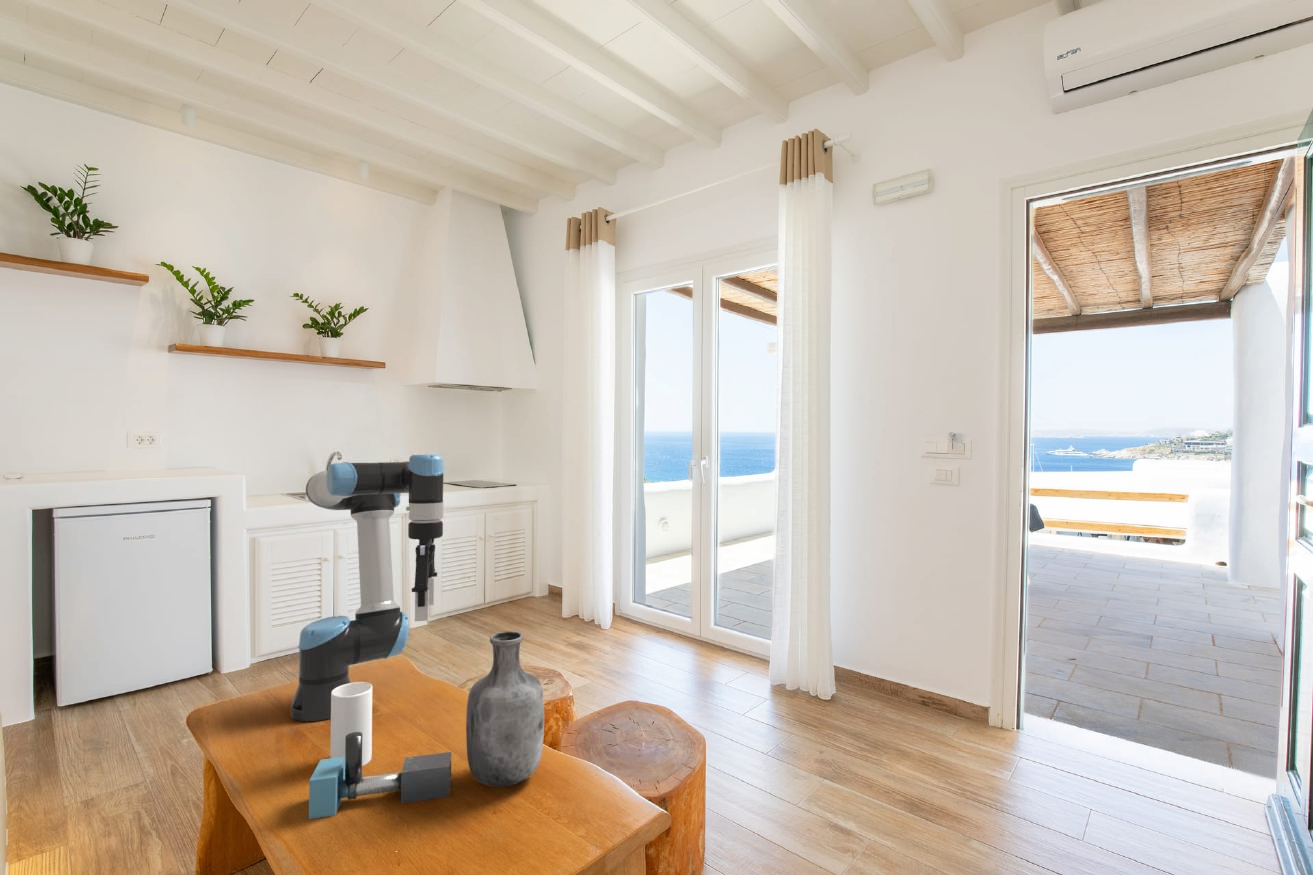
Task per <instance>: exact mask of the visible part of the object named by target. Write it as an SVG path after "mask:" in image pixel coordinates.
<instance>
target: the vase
mask: <svg viewBox="0 0 1313 875" xmlns="http://www.w3.org/2000/svg"><path fill="white" fill-rule="evenodd" d="M523 638H524V636H523V634H522V632H519V631H501V632H497V633H494V634H492V635H490V637H489V643H490V644H491V645H492V654H493V655H492V657H493V658H492V666H491V670H490V671H489V673H487V675H485V676H483V677H481V678H480V679H478V680H477V681H476V682H475V683H474V684H473V685H472V687H471V688H470V690H469V692H468V695H467V696H468V697H467V703H466V718H465V719H466V721H465V726H466V727H465V730H466V731H465V734H466V736H465V737H466V756H467V761H468V762H467V763H468V768H469V771H470V774H471V775H472V776H473V778H475V780H476V781H477V782H480V783H481V784H483V785H486V786H490V787H499V788H502V787H509V786H513V785H515V784H516V785H517V784H519V783H521V782H523V781H525V780H527V779H529V777H530V776H532V775H533V774H534V773H535V772H536V770H537V768H538V767H539V765H540V763H541V758H542V754H543V749H544V748H543V746H544V738H545V737H544V735H545V700H544V699H545V698H544V690H543V686H542V684H541V682H540V680H539V679H538V678H537V677H536V676H534V675H532V674H530V673H528V672H525V671H524V669H523V668H522V665H521V663H520V647H521V643H522V642H523V641H524V640H523Z"/></svg>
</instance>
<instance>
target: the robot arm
mask: <svg viewBox="0 0 1313 875" xmlns="http://www.w3.org/2000/svg"><path fill="white" fill-rule="evenodd" d="M444 472H445V468H444V458H443V456H442V455H441V454H411V455H410V456H409V460H408V461H402V462H401V461H393V462H391V461H389V462H386V461H385V462H383V461H382V462H381V461H380V462H346V461H345V462H344V461H343V462H336V463H331V464H330V465H329V466H328V469H327V470H324V471H320V472H318V473H316V474H314V475H313V476H311V477H310V478H309V480H308V481H307V484H306V485H305V495H306V497H307V499H308V500H309V501H310V502H311V503H312V504H313V505H315V506H317V507H318V508H322V509H326V510H331V511H347V510H350V511H349V512H350V517H351V518H352V519H354V521H355V522H356V527H357V528H356V529H357V530H356V531H357V547H358V548H357V549H358V552H357V553H358V572H359V573H358V574H359V575H358V576H359V591H360V592H359V595H360V596H359V598H360V607H359V608H358V609H357V611H356V612H355V619H354V620H350V618H349V617H348V616H346V615H338V616H335V615H334V616H328V617H325V618H321V619H318V620H315V621H312V622H310V623H309V624H307V625H306V626H304V627H303V628H302V629H301V631H300V635H299V643H298V644H299V645H298V649H299V653H298V656H299V660H298V662H299V663H298V670H299V671H298V685H297V689H296V692H295V694H294V697H293V699H292V702H291V704H290V717H291V719H293V720H295V721H298V722H318V721H325V720H329V719H330V720H331V692H332V690H333V689H335V688H336V687H339V686H341V685H344V684H348V683H352V682H351V680H350V675H349V666H352V665H356V664H357V665H358V664H361V663H368V662H373V661H376V660H377V661H378V660H382V659H385V660H386V659H388V658H391V657H396V656H398V655H400V654H401V653H403V651H404V650H405V648H406V645H407V644H408V639H409V638H408V637H409V632H410V630H409V628H410V622H409V620H408V618H409V617H408V614H407V613H406V612H404V611H401V606H400V605H399V604H398V603H397V602H395V596H394V595H395V594H394V582H393V579H394V578H393V577H394V576H393V563H392V562H393V561H392V548H391V547H392V544H391V530H390V529H391V528H390V527H391V526H390V518H391V516H393V515H394V514H395V508H397V507H398V506H399V505H400V503H401V496H402V495H401V494H408V506H406V507H405V510H406V511H407V512H408V520H409V521H410V522H408V523H407V524H408V527H407V528H408V529H407V530H408V531H407V534H408V539H411V540H418V545H416V547H415V574H414V575H415V576H414V586H413V587H411V593H414V622H427V621H429V606H434V604H435V578H437V577H438V571H436V567H435V555H436V554H435V552H436V544H435V543H434V542H435V539H439V538H441V537H443V534H444V522H443V521H442V519H443V518H444Z"/></svg>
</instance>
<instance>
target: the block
mask: <svg viewBox="0 0 1313 875" xmlns="http://www.w3.org/2000/svg"><path fill="white" fill-rule="evenodd" d="M451 786H452V751H446V752H440V753H439V752H438V753H432V754H431V753H430V754H424V755H416V756H407V757H405V759H404V762H403V765H402V769H401V790H400V804H405V803H406V804H407V803H412V802H413V803H414V802H415V803H416V802H420V801H427V800H429V801H430V800H435V799H436V800H437V799H442V798H449V797H450V794H451Z"/></svg>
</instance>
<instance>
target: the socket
mask: <svg viewBox="0 0 1313 875" xmlns="http://www.w3.org/2000/svg"><path fill="white" fill-rule="evenodd" d="M338 780H345V757H340V758H332V759H330V758H325V759H319V762H318V764H317V766H316V768H315V770H314V771H313V774H312V775H311V777H310V779H309V782H308V785H309V787H308V788H309V789H308V820H312V819H313V820H314V819H318V818H326V817H333V816H336V815H337V813H338V810H339V808H340V805H341V802H342V800H343V798H341V799H337V789H338Z"/></svg>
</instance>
